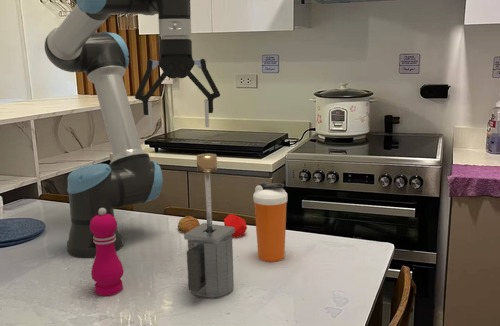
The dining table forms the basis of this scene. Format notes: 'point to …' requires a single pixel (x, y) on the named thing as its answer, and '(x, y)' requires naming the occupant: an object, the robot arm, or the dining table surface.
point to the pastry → (187, 224)
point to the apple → (236, 224)
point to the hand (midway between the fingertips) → (179, 127)
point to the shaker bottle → (270, 220)
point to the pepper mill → (106, 255)
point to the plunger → (207, 181)
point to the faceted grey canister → (210, 261)
